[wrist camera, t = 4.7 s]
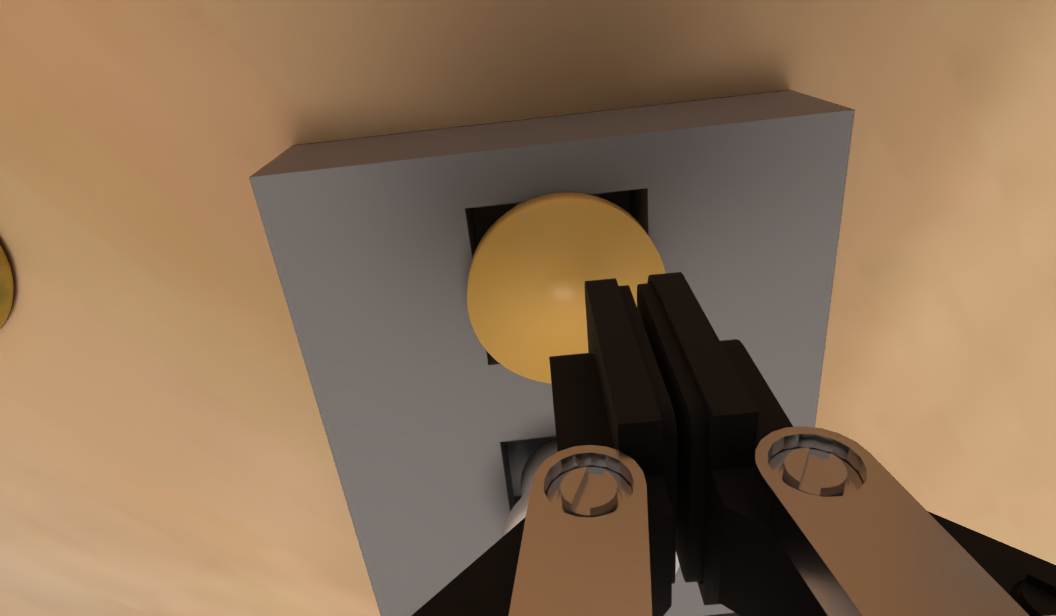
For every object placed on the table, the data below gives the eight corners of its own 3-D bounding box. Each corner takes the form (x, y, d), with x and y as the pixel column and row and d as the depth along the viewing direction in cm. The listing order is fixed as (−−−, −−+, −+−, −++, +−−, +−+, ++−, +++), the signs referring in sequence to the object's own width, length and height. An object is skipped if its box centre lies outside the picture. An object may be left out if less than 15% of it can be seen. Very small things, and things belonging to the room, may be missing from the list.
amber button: (638, 159, 17) (666, 190, 14) (641, 317, 19) (667, 372, 16) (459, 179, 17) (452, 214, 14) (483, 335, 19) (481, 393, 16)
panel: (790, 90, 18) (854, 109, 14) (749, 604, 27) (782, 684, 24) (292, 145, 18) (249, 177, 14) (422, 640, 27) (413, 724, 24)
